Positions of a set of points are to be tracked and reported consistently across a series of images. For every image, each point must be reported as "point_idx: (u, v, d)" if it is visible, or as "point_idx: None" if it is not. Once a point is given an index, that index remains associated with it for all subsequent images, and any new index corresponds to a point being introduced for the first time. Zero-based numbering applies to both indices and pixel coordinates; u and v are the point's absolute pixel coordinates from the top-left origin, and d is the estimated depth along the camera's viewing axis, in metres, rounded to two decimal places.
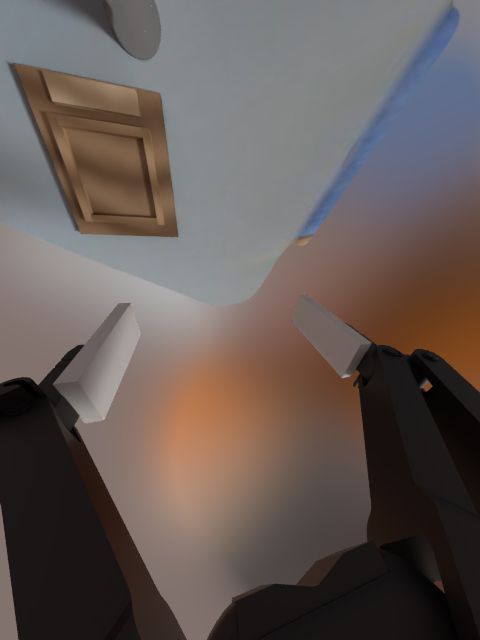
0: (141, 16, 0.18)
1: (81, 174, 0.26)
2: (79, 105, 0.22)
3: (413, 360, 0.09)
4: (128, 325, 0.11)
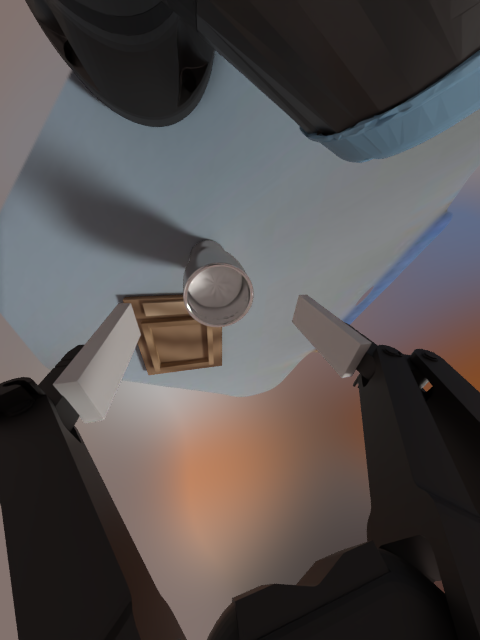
0: None
1: (156, 344, 0.33)
2: (164, 314, 0.29)
3: (413, 360, 0.09)
4: (128, 325, 0.11)
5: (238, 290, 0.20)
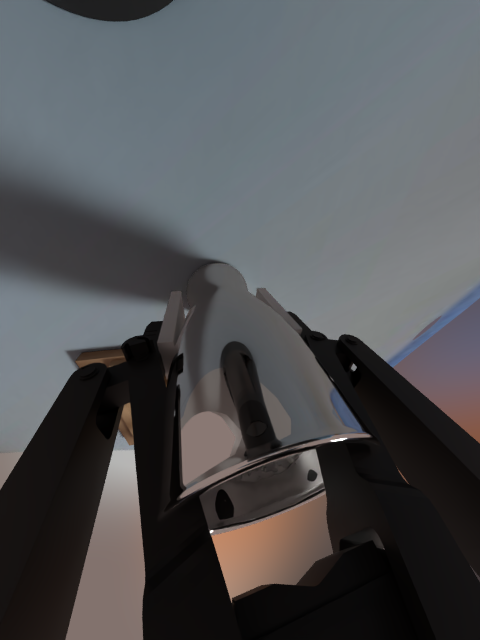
0: None
1: None
2: None
3: (340, 347, 0.10)
4: (181, 309, 0.13)
5: None
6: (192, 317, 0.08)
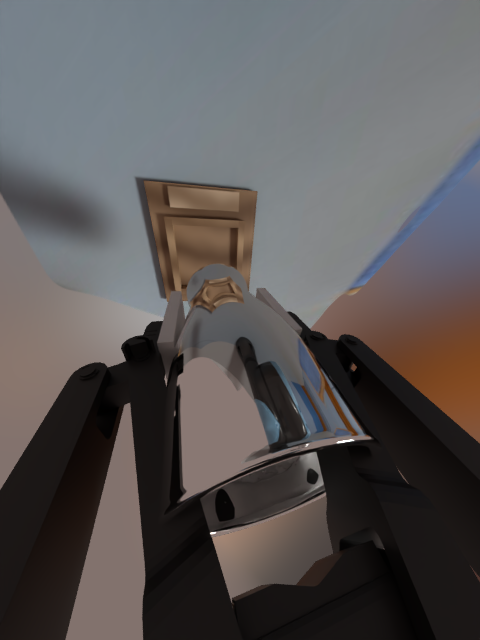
0: None
1: (178, 257, 0.29)
2: (191, 208, 0.25)
3: (340, 347, 0.10)
4: (181, 309, 0.13)
5: None
6: (192, 318, 0.08)
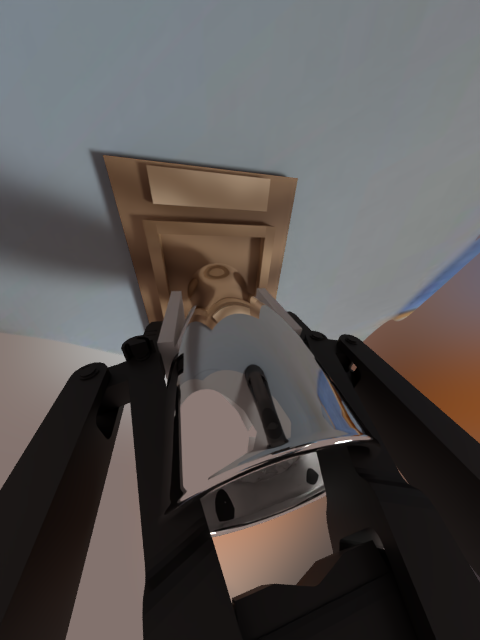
0: None
1: (170, 282, 0.18)
2: (189, 205, 0.15)
3: (340, 347, 0.10)
4: (181, 309, 0.13)
5: None
6: (192, 318, 0.08)
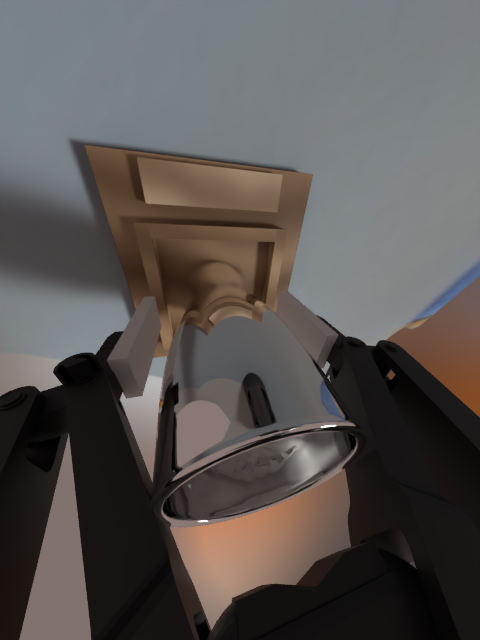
0: None
1: (167, 292, 0.16)
2: (188, 205, 0.13)
3: (378, 352, 0.09)
4: (153, 316, 0.12)
5: None
6: (188, 314, 0.08)
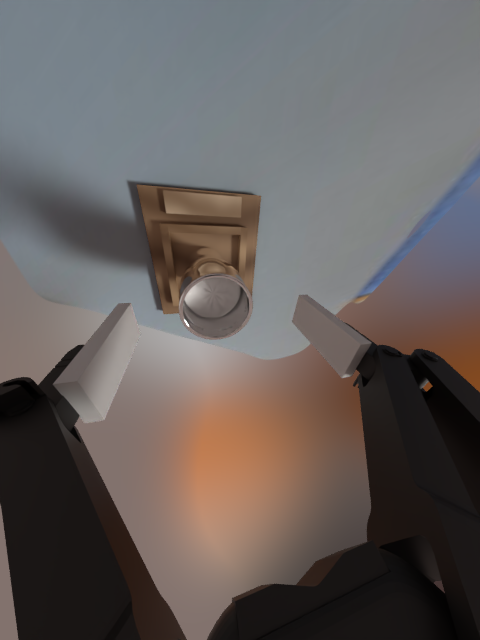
0: None
1: (175, 266, 0.26)
2: (189, 214, 0.23)
3: (413, 360, 0.09)
4: (128, 325, 0.11)
5: (236, 300, 0.20)
6: None
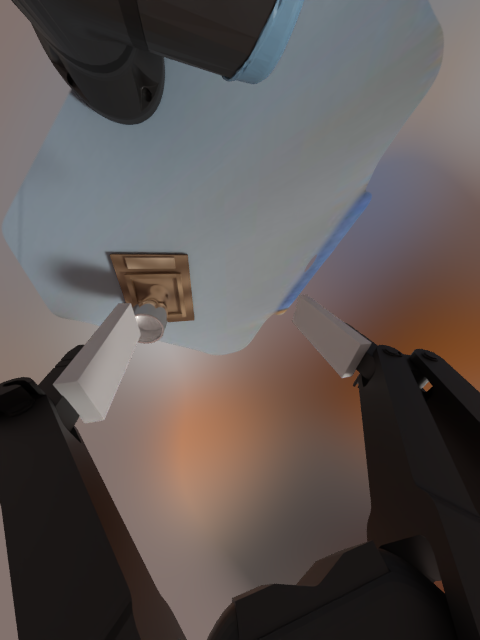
0: None
1: (138, 296, 0.42)
2: (142, 268, 0.38)
3: (413, 360, 0.09)
4: (128, 325, 0.11)
5: None
6: (137, 302, 0.34)
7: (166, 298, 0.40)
